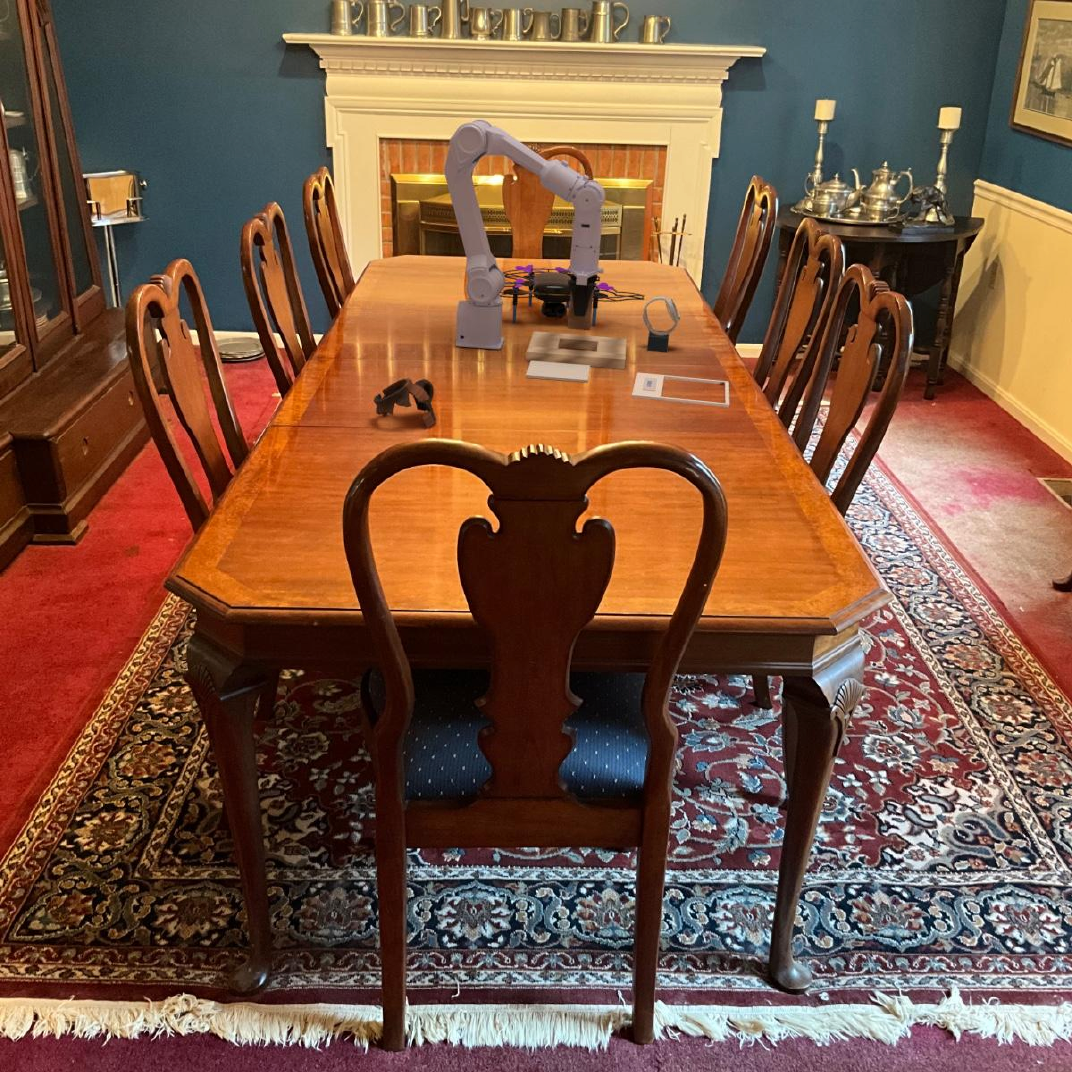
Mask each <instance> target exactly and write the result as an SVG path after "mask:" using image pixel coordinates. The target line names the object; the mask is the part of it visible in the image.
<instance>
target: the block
mask: <svg viewBox="0 0 1072 1072" xmlns="http://www.w3.org/2000/svg"><path fill="white" fill-rule="evenodd" d="M593 291H594V290H593ZM592 316H593V292H592V294H591V296H590V299H589V303H588V307H587V311H586V314H585V316H575V314H574V308H573V298H572V293H570V304H569V309H568V321H567V323H568V325H567V329H568V330H579V331H591V326H592Z"/></svg>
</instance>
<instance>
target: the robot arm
mask: <svg viewBox="0 0 1072 1072" xmlns="http://www.w3.org/2000/svg"><path fill="white" fill-rule="evenodd" d="M485 155H486V156H504V157H506V158H508V159H509V160H511V161H513V162H514V163H516V164H518V165H520V166H522V167H523V168H525V169H527V170H528V171H530V172H532V173H533V174H535V175H537V176H538V178H539V181H540V184H541V186H542V187H543V188H544V189H546V190H548V191H550V192H551V193H553V194H554V195H556V196H557V197H559V198H560V199H561V200H563V201H565V202H567V203H568V204H569V203H571V204H572V207H573V209H574V216H573V217H574V218H573V219H574V220H573V222H572V233H571V250H570V259H569V266H568V268H569V271H570V272H571V273H570V278H571V280H568V285H569V287H570V290H571V293H572V298H573V308H574V314H575V316H585V314H586V311H587V307H588V303H589V299H590V296H591V294H592V292H593V290H594V289H595V286H596V284H597V283H596V282H597V281H596V280H597V279H598V278H597V277H598V276H599V275H598V274H604V273H605V271H604V268H603V267H599V262H600V261H599V260H600V249H601V238H602V228H603V227H602V226H603V223H602V218H603V209H602V207H603V205H604V204H605V201H606V191H605V189H604V187H603V186H602V185H601V184H600V183H599V182H598V181H596V180H593V179H592V180H591V179H590V176H588V175H586V174H583V175H582V174H580V173H579V172H578V171H576V170H574V169H573V168H572V167H570V166H569V162H568V161H566V160H565V159H562V160H561V161H560V160H559V159H556V158H555V159H552V160H547V159H545V158H544V157H542V156H541V155H540V154H538V153H536V151H533V150H532V148H529V147H528V146H527V145H526V144H524V143H522V142H521V141H519V140H518V139H517V138H516V137H514V136H513V135H511V134H510V133H508V132H506V131H505V130H503V129H502V128H501V127H498V126H495V125H492V124H491V123H490V122H488V121H486V120H484V119H475V120H473V121H470V122H466V123H463V124H461V125H459V127H458V128H457V129H456V131H455V132H454V133H453V135H452V136H451V137H450V139H449V148H448V152H447V155H446V160H445V163H444V167H443V172H444V177H445V181H446V185H447V188H448V192H449V195H450V200H451V204H452V207H453V208H452V209H453V211H454V215H455V219H456V223H457V226H458V230H459V231H458V232H459V234H460V238H461V241H462V245H463V249H464V253H465V257H466V266H465V268H466V269H465V273H466V277H467V278H466V279H467V280H466V281H467V283H466V288H465V291H466V294H467V297H468V298H467V300H459V301H458V304H457V309H456V328H455V329H456V330H455V337H456V339H455V347H461V348H462V347H464V348H474V349H475V348H476V349H486V350H501V349H502V347H503V345H504V343H505V339H506V338H504V337H502V325H503V324H502V322H503V306H504V305H503V303H504V302H503V301H504V300H503V299H502V298H503V297H501V296H500V295H501V292H503V291H504V290H505V288H506V287H505V286H506V285H505V282H506V281H505V280H506V278H505V276H504V275H505V274H503V272H504V271H502V270H501V269H500V267H499V266H498V263H497V259H496V258H495V256H494V255H493V253H492V252H491V248H490V244H489V240H488V236H487V232H486V228H485V224H484V221H483V217H482V213H481V209H480V205H479V201H478V200H479V199H478V197H477V192H476V190H475V189H476V188H475V185H474V181H473V176H472V172H474V169H475V168H476V166H477V165H478V163H479V162H480V160H481V158H482V157H484V156H485ZM589 179H590V180H589Z"/></svg>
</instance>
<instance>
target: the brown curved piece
mask: <svg viewBox="0 0 1072 1072" xmlns="http://www.w3.org/2000/svg"><path fill="white" fill-rule="evenodd" d="M434 389H435V388H434V386H433V384H432V383H431V381H430V380H428V379H426V378H423V379H420V380H418V381H416V382H414V383H413V381H412V379H411V378H409V377H408V378H402V379H398V380H397V381H396V382H393V383H391V384H390V385H388V386H386V387H385V388H384V389H382V393H383V395H384V396H382V395H381V393H377V395H376V396H375V397H374V398H373V403H375V405H376V408H375V410H376V411H375V413H376V414H377V415H378V416H380V415H382V416H383V417H387V415H391V416H394V408H395V404H396V405H397V406H398V407H399V406H400V407H405V408H409V407H412V403H411V401H410V398H411V397H410V395H412V398H413V400H414V402H415V404H416V408H417V409H416V410H418V411H422V412H426V413H425V414H424V415H423V417H421V420H422V422H423V423H424V426H425V429H427V430H428V429H430V428H431V427H432V426H433V425H434V424H435V423H436V421H437V418H436V414H435V411H434V408H433V405H432V401H433V400H434V394H435V390H434Z"/></svg>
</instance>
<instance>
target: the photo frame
mask: <svg viewBox="0 0 1072 1072" xmlns="http://www.w3.org/2000/svg"><path fill="white" fill-rule="evenodd" d="M664 379H665V380H674V381H684V382H695V383H702V384H703V383H705V384H713V385H714V384H715V385H721V384H723V385H724V387H725V388H724V392H725V395H724V396H725V397H724V398H725V402H717V401H716V402H715V401H705V400H695V399H689V398H688V399H687V398H679V397H666V396H662V392H663V386H664ZM729 384H730V382H729V381H727V380H716V379H708V378H707V379H706V378H698V377H696V378H695V377H688V376H687V377H686V376H676V375H669V374H668V375H665V374H656V373H647V372H636V376H635V380H634V385H633V389H632V393H631V398H632V399H633V398H635V399H643V400H644V399H645V400H654V401H655V400H656V401H663V402H671V403H672V402H675V403H681V404H682V403H683V404H691V405H692V404H693V405H702V406H703V405H704V406H712V407H720V408H730V391H729V390H730V388H729V386H730V385H729Z"/></svg>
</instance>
